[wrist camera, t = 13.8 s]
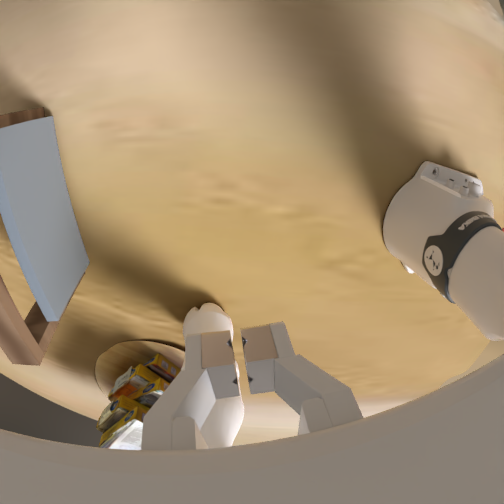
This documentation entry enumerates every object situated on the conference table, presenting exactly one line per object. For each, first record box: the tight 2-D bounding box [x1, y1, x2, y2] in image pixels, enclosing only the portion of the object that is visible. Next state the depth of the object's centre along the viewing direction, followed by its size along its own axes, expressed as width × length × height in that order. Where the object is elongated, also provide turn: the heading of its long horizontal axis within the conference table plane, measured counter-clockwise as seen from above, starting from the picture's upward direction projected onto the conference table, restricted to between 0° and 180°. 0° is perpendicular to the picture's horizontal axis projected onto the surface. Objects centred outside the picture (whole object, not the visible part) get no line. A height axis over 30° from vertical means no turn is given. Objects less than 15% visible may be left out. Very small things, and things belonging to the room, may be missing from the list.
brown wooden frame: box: [0, 107, 85, 366], centre depth 24 cm, size 4×24×18 cm, turn 4°
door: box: [0, 116, 90, 322], centre depth 26 cm, size 2×20×12 cm, turn 5°
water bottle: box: [181, 303, 244, 448], centre depth 33 cm, size 7×7×25 cm
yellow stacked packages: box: [95, 341, 185, 450], centre depth 44 cm, size 25×25×17 cm
